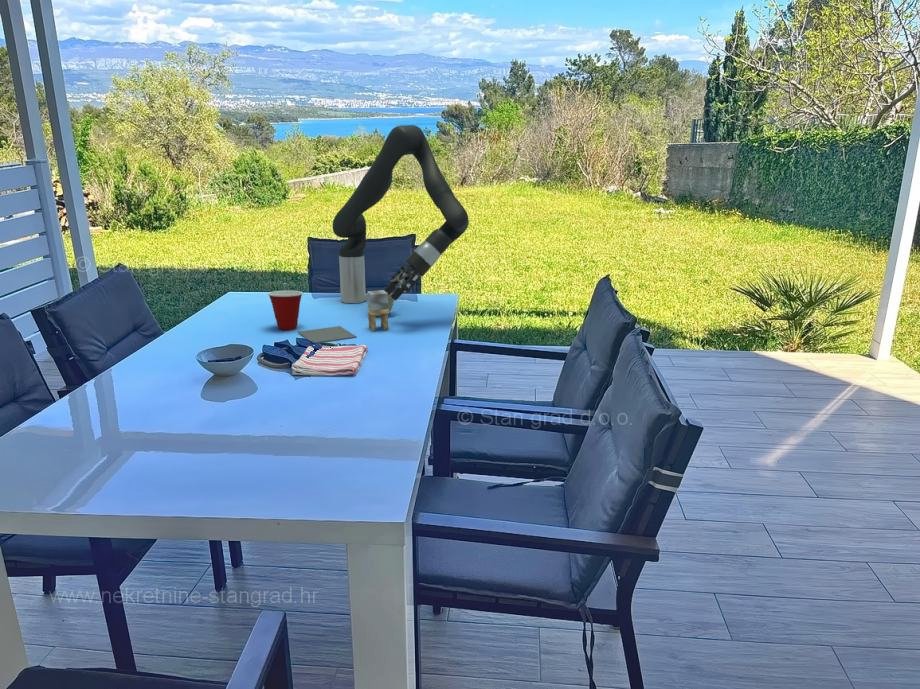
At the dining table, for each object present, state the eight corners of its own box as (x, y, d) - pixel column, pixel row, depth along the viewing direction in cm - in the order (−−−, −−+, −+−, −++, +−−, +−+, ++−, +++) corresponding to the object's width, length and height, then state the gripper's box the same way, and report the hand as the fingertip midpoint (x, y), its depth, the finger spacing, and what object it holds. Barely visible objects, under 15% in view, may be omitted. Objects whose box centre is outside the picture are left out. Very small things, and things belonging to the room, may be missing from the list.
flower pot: (362, 313, 235) (361, 293, 233) (389, 310, 239) (389, 291, 237) (371, 320, 226) (370, 299, 224) (399, 317, 230) (398, 296, 228)
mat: (297, 332, 210) (297, 331, 210) (339, 327, 217) (339, 325, 217) (312, 343, 199) (312, 342, 198) (356, 337, 205) (356, 336, 205)
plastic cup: (309, 324, 220) (307, 288, 216) (298, 333, 210) (296, 295, 206) (277, 323, 221) (275, 287, 217) (265, 332, 211) (262, 294, 207)
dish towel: (289, 378, 171) (288, 365, 170) (310, 350, 194) (309, 339, 193) (355, 379, 171) (355, 366, 170) (369, 351, 194) (368, 340, 193)
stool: (384, 326, 219) (383, 290, 215) (389, 330, 214) (388, 293, 210) (367, 327, 217) (366, 291, 213) (371, 331, 212) (370, 294, 208)
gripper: (408, 247, 219) (375, 284, 218) (422, 253, 206) (386, 292, 205) (424, 262, 222) (391, 298, 222) (438, 269, 209) (403, 308, 209)
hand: (389, 295), depth 214 cm, fingers open, 8 cm apart
